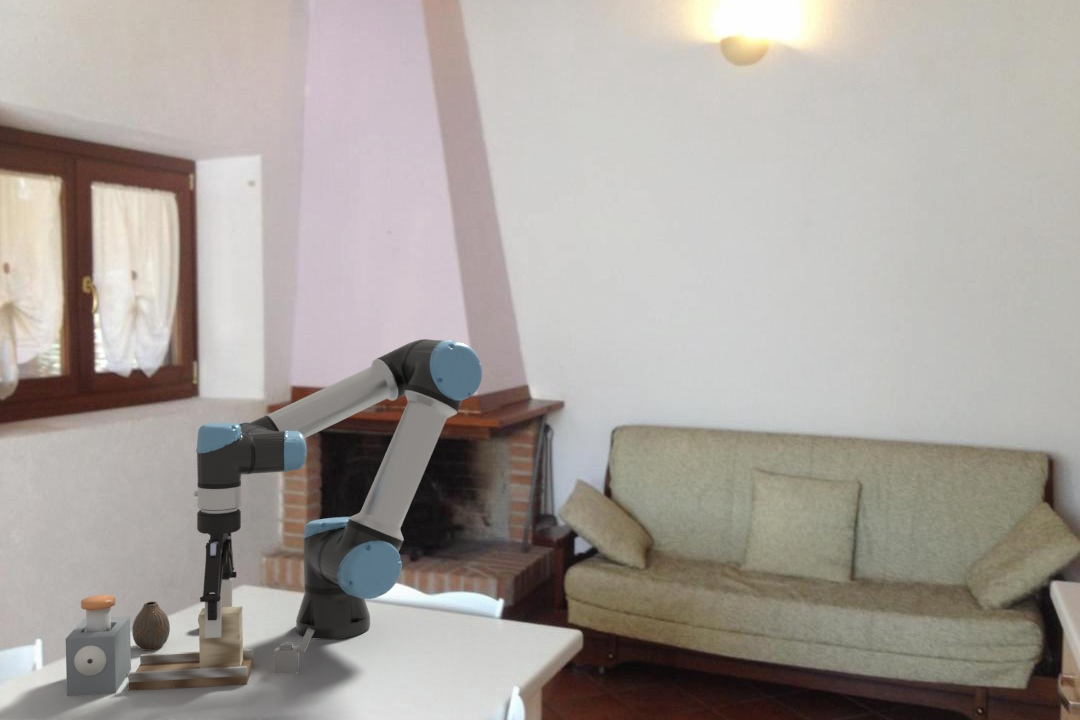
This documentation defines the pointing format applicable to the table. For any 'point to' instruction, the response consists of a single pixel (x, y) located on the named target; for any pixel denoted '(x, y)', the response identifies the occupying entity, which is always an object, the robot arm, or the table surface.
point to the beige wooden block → (222, 641)
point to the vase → (151, 627)
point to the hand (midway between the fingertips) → (219, 625)
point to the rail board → (186, 672)
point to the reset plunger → (98, 612)
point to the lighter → (290, 655)
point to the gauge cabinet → (98, 658)
